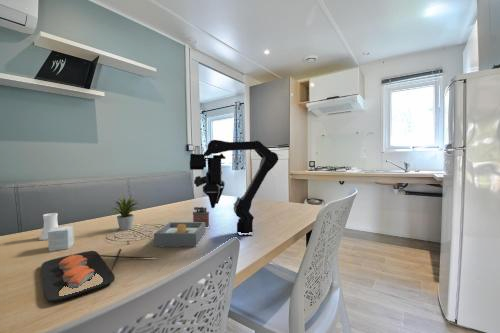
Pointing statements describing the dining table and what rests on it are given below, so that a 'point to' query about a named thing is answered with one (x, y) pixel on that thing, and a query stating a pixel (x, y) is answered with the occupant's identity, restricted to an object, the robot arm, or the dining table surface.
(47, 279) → the sushi plate
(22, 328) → the dining table surface
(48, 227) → the salt shaker
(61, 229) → the product box
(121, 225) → the house plant
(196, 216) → the lighter
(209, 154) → the robot arm
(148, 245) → the dining table surface
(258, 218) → the dining table surface
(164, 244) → the box
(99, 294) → the dining table surface
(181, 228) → the peg
